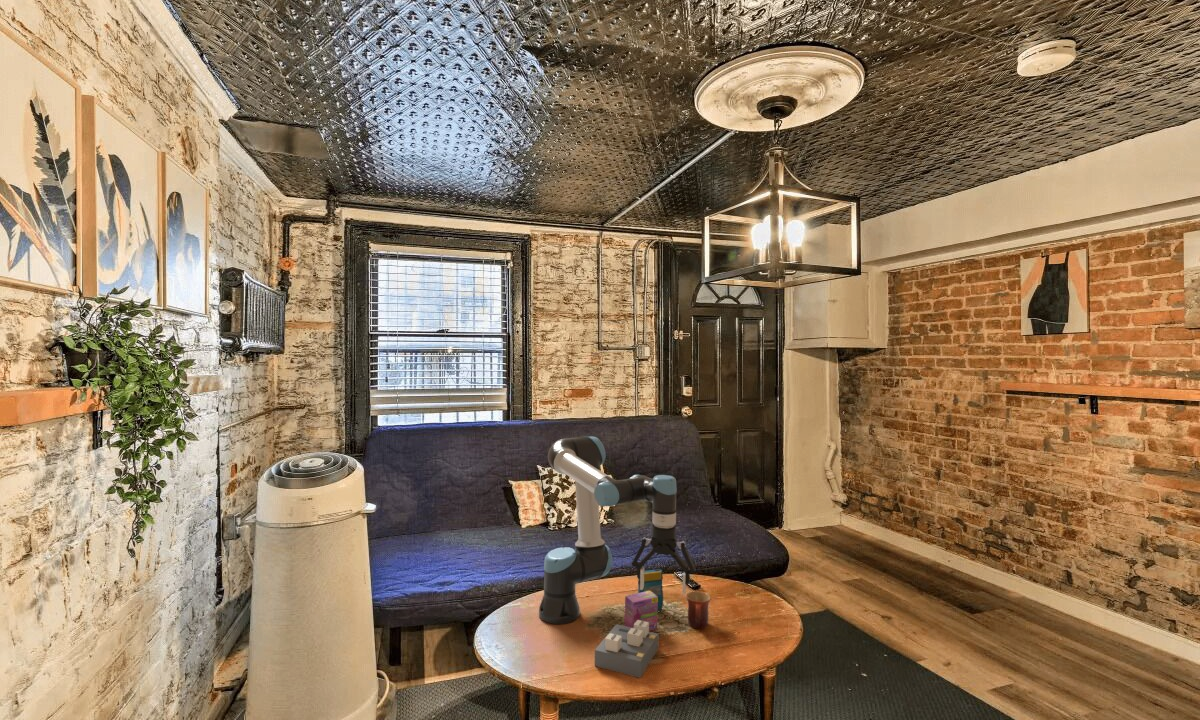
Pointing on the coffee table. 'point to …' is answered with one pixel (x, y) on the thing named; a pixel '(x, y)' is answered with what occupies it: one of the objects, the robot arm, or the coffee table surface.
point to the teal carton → (653, 585)
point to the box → (641, 609)
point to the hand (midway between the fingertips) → (662, 591)
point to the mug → (698, 609)
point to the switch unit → (627, 653)
